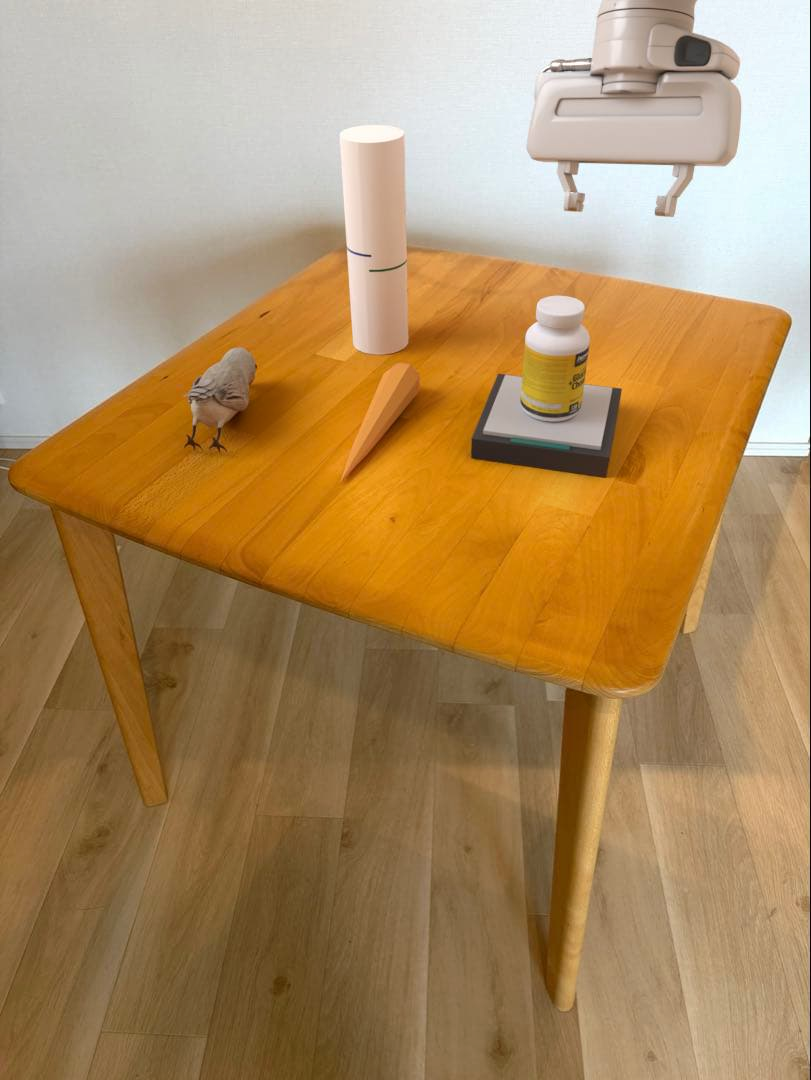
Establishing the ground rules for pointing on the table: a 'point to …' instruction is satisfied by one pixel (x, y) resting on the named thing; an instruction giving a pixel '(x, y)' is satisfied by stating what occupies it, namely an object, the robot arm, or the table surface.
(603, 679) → the table surface
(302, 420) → the table surface
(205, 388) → the decorative bird
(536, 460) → the scale
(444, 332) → the table surface
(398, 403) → the carrot
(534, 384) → the pill bottle
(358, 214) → the cylindrical container
